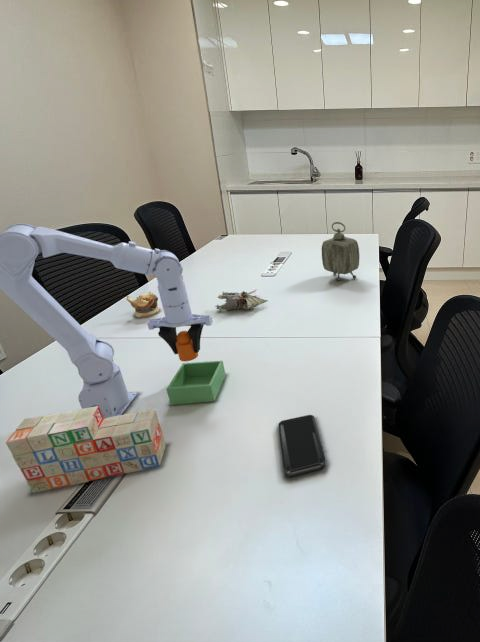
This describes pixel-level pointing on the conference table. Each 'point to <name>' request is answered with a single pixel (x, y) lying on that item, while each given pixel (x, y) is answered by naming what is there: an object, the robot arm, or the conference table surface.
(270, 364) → the conference table surface
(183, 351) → the cylinder
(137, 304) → the yellow brown ornament
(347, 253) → the tabletop clock
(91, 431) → the stack of blocks
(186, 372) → the green bin
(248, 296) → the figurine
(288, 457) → the phone
